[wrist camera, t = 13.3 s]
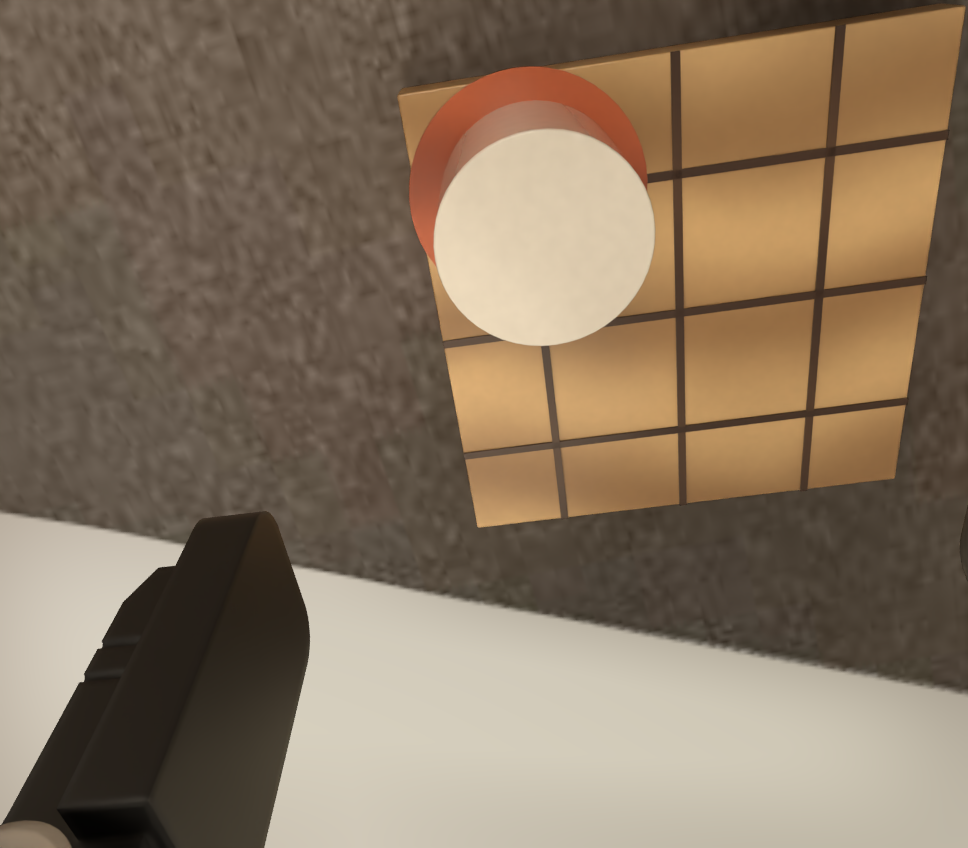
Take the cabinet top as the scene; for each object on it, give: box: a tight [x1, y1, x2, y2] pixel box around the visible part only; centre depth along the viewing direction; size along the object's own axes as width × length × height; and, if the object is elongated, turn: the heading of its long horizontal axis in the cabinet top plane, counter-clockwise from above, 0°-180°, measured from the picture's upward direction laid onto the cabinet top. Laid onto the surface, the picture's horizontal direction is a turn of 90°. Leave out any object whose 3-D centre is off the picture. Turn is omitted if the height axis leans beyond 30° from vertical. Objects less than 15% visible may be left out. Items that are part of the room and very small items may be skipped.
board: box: [397, 3, 966, 527], centre depth 23 cm, size 14×14×1 cm
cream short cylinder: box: [433, 100, 655, 346], centre depth 19 cm, size 5×5×4 cm
